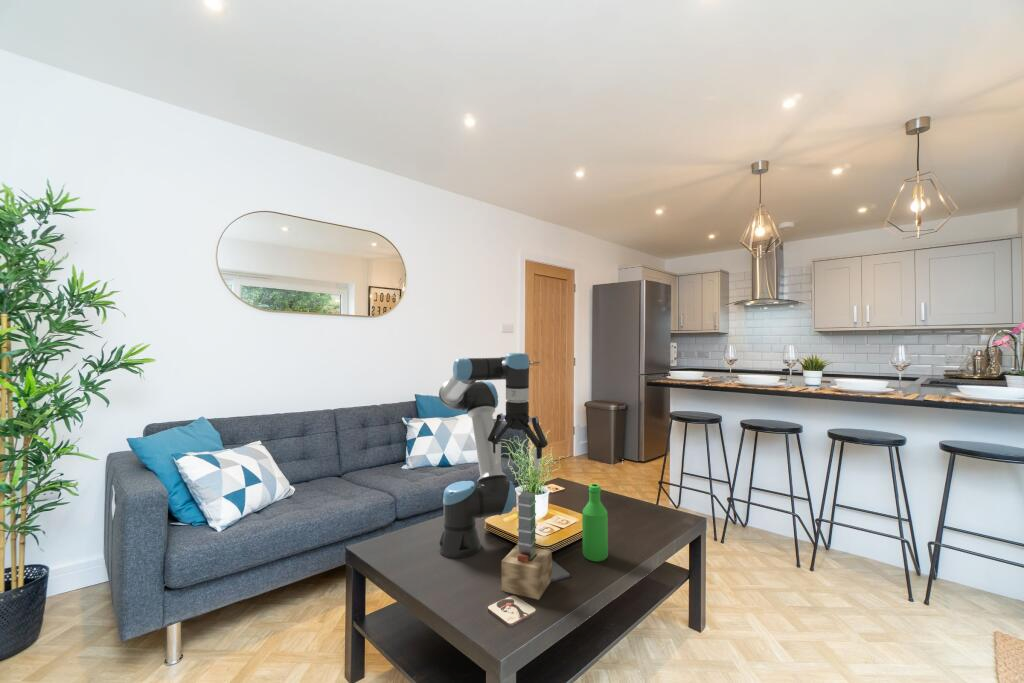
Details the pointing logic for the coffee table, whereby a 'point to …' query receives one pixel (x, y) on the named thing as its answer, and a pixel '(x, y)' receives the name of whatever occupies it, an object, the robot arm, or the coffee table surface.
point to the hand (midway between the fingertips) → (517, 465)
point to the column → (526, 524)
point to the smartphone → (558, 572)
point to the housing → (526, 573)
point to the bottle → (595, 527)
